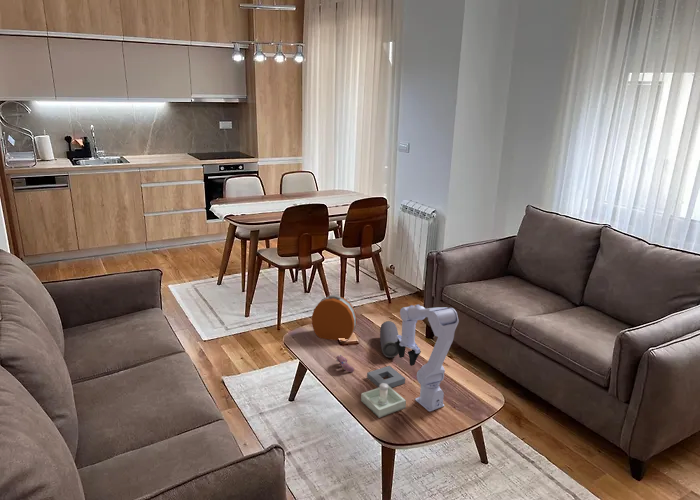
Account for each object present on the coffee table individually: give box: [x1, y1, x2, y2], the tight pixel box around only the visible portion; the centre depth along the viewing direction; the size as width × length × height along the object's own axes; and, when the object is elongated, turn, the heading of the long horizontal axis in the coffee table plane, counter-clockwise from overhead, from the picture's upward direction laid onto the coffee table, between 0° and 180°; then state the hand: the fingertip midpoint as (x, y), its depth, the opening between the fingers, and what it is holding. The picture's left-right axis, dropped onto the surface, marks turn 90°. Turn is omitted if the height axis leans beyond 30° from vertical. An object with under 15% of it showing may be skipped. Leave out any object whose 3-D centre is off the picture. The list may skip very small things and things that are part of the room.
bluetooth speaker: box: [379, 320, 399, 358], centre depth 246 cm, size 23×9×10 cm, turn 179°
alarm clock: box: [311, 294, 358, 341], centre depth 257 cm, size 22×10×23 cm, turn 74°
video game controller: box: [336, 354, 355, 373], centre depth 229 cm, size 10×5×7 cm, turn 21°
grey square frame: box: [366, 365, 406, 389], centre depth 220 cm, size 12×12×2 cm
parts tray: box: [360, 385, 407, 419], centre depth 203 cm, size 13×13×4 cm
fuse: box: [379, 383, 388, 405], centre depth 202 cm, size 4×4×8 cm
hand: (406, 360), depth 218 cm, fingers open, 7 cm apart
